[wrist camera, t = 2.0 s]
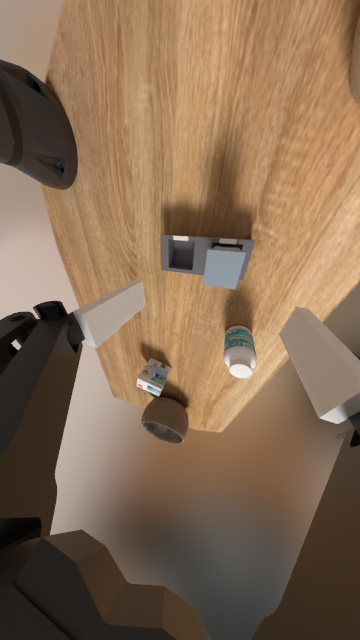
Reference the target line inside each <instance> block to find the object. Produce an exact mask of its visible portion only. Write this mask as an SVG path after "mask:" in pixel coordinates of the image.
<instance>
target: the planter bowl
mask: <svg viewBox="0 0 360 640" xmlns="http://www.w3.org/2000/svg"><path fill="white" fill-rule="evenodd" d="M350 89H351V93H352V96H353V98H354V100H355V101H356V102H357V103H358V104H359V105H360V16H359V19H358V23H357V27H356V31H355V36H354V41H353V47H352V53H351V65H350Z"/></svg>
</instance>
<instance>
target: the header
mask: <svg viewBox="0 0 360 640" xmlns="http://www.w3.org/2000/svg"><path fill="white" fill-rule="evenodd" d="M254 242H255V240H252V239H239V238H222V237H206V236H189V235H173V234H165V235H161V261H162V270H166V271H174V272H182V273H190V274H198V275H204V272H205V265H206V258H207V251H208V249H209V248H214V247H215V246H216V245H231V246H238V247H239V249H240V250H241V251H245V252H246V255H245V258H244V262H243V265H242V269H241V272H240V276H239V279H238V280H243V278H244V275H245V271H246V268H247V265H248V262H249V258H250V255H251V252H252V249H253V245H254Z"/></svg>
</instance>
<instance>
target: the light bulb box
mask: <svg viewBox="0 0 360 640" xmlns="http://www.w3.org/2000/svg"><path fill="white" fill-rule="evenodd" d="M170 370H171V367H170V366H168V365H165V364H163V363H161V362H159V361H157V360H155V359H153V358H150V360H149V361H148V363H147V364H146V366H145V367H144V369H143V371H142V372H141V374H140V375H139V377H138V380H137V386H138V387H140V388H142V389H144V390H146V391H149V392H151V393H153V394H155V395H157V396H159V395H160V393H161V391H162V389H163V386H164V384H165V382H166V380H167V377H168V375H169V372H170Z"/></svg>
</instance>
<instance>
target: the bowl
mask: <svg viewBox="0 0 360 640" xmlns="http://www.w3.org/2000/svg"><path fill="white" fill-rule="evenodd" d="M188 425H189V421H188V415H187V412H186V410H185V408H184V407H183V405H181V404H180V403H179V402H177V401H175V400H173V399H170V398H164V397H159V398H155V399H153V400H152V401H151V402H150V403H149V404H148V405H147V407H146V409H145V411H144V413H143V416H142V426H143V427H144V428H145V429H146V430H147V431H148V432H149V433H151V434H152V435H153V436H155V437H157V438H158V439H160V440H162V441H165V442H168V443H172V444H181V443H183V441H184V440H185V438H186V435H187V432H188Z"/></svg>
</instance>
